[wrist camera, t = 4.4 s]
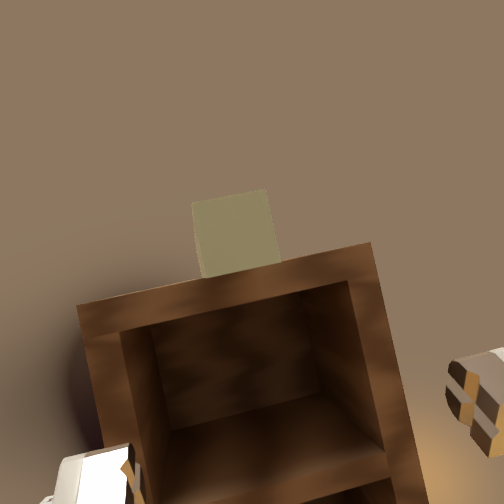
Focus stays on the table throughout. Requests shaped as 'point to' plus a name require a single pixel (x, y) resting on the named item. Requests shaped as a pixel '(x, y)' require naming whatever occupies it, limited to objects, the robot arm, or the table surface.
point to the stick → (234, 233)
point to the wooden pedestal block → (258, 386)
